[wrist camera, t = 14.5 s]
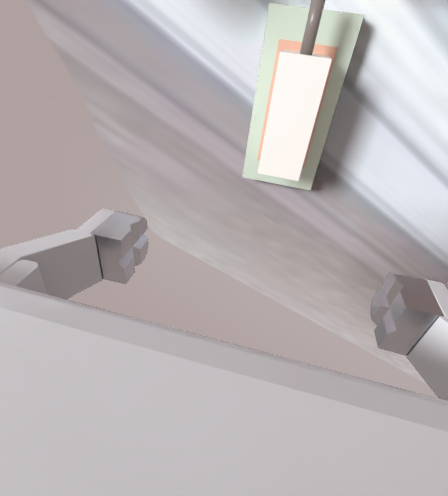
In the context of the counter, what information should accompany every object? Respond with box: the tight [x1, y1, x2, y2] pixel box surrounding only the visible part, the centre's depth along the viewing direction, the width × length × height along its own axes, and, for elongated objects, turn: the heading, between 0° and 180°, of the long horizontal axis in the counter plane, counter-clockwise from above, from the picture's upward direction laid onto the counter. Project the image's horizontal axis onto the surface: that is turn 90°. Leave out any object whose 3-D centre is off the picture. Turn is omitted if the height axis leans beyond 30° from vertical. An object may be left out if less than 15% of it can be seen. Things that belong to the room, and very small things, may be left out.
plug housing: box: [258, 0, 332, 181], centre depth 27 cm, size 4×14×5 cm, turn 174°
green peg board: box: [242, 3, 364, 190], centre depth 30 cm, size 8×16×5 cm, turn 174°
